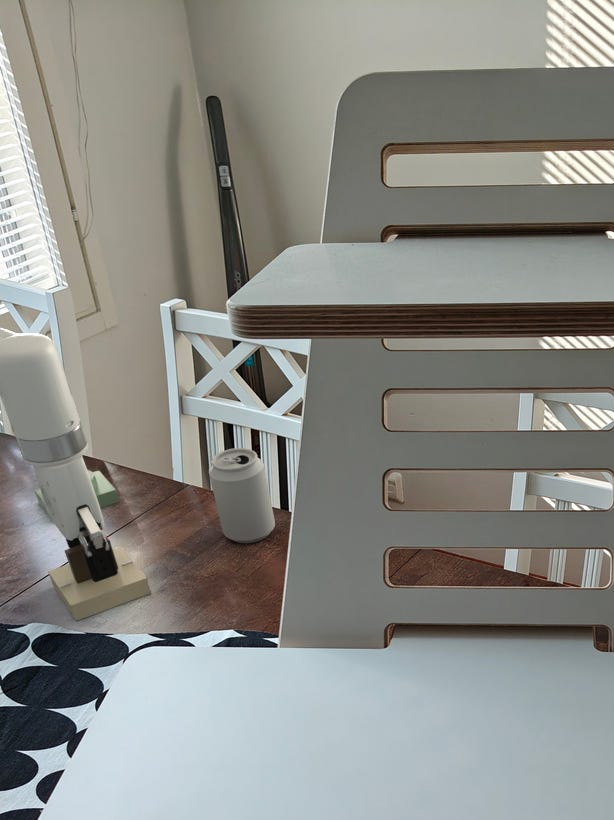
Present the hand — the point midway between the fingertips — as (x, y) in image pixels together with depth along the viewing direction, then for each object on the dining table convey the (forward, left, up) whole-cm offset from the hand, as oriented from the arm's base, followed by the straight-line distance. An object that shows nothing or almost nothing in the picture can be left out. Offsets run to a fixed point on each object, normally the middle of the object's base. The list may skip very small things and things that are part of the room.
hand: (93, 561), depth 128 cm
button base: (+5, +26, -5) cm, 27 cm away
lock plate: (0, 0, -5) cm, 5 cm away
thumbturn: (0, 0, -2) cm, 2 cm away
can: (+22, +1, -5) cm, 22 cm away
